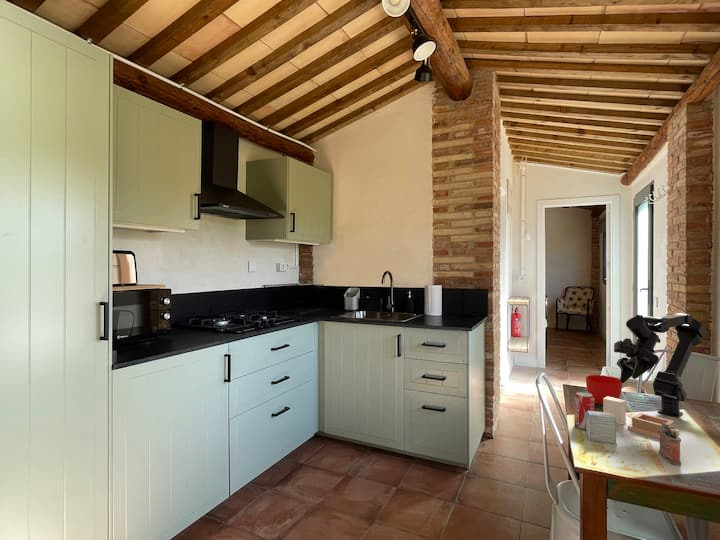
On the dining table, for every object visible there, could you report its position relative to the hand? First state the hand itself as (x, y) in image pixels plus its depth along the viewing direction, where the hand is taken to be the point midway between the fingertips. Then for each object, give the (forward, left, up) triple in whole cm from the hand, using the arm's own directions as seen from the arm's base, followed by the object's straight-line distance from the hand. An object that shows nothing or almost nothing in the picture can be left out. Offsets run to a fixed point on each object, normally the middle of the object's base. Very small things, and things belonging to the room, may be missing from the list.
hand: (627, 380), depth 142 cm
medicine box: (+20, 0, -16) cm, 26 cm away
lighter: (+18, +18, -16) cm, 30 cm away
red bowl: (-20, -16, -16) cm, 30 cm away
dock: (-1, +8, -16) cm, 18 cm away
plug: (-1, -4, -16) cm, 17 cm away
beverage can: (+14, -8, -16) cm, 23 cm away
